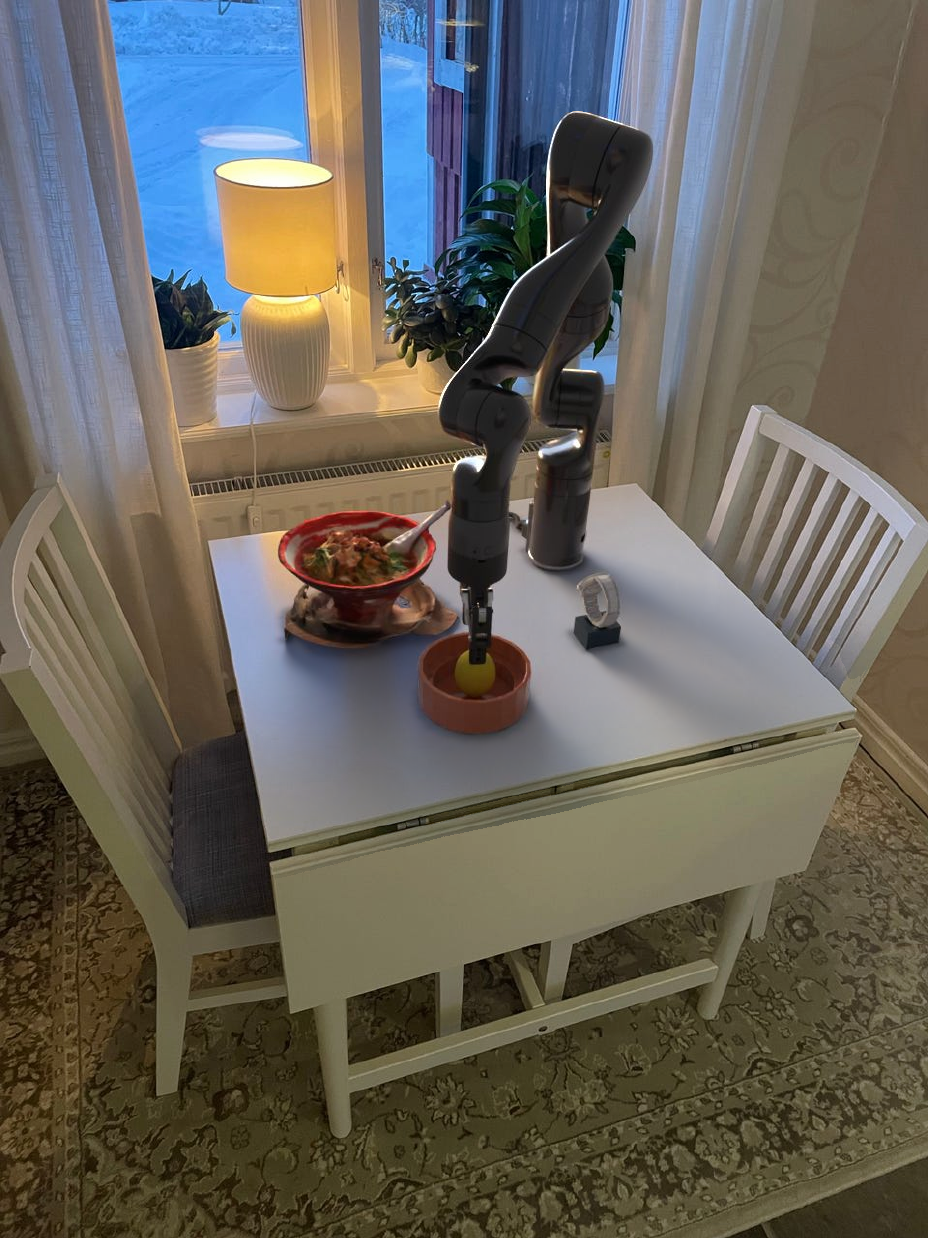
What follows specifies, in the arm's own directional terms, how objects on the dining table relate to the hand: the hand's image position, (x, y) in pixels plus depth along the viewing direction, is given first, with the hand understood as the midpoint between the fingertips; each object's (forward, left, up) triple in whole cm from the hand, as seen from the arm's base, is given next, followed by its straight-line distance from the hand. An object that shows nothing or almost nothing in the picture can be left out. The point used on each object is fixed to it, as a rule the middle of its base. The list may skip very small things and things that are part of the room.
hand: (473, 642), depth 124 cm
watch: (-1, +24, -10) cm, 26 cm away
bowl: (0, 0, -10) cm, 10 cm away
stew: (-26, -1, -10) cm, 27 cm away
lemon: (0, 0, -9) cm, 9 cm away
